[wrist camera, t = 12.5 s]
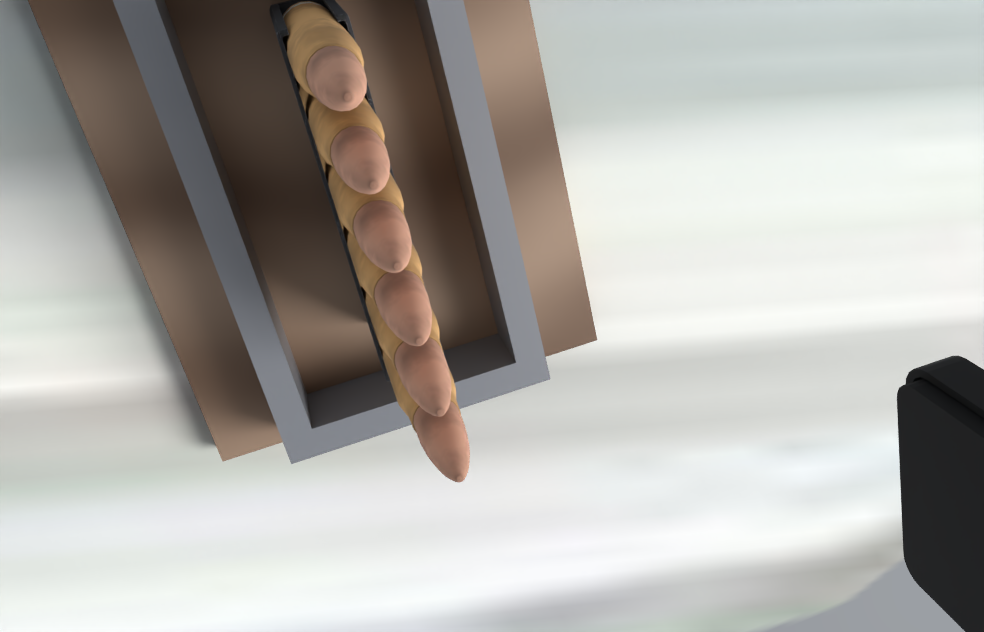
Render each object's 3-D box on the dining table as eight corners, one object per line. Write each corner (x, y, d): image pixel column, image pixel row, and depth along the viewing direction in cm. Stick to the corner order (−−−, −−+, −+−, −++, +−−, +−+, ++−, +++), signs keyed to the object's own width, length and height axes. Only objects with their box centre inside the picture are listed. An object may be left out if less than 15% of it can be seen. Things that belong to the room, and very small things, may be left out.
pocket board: (16, -48, 27) (-15, -43, 23) (486, -165, 28) (517, -176, 25) (223, 447, 34) (221, 500, 31) (588, 329, 36) (621, 368, 32)
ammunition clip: (267, 5, 28) (283, 59, 17) (328, -11, 28) (382, 32, 17) (368, 324, 32) (431, 525, 21) (419, 307, 32) (508, 499, 22)
